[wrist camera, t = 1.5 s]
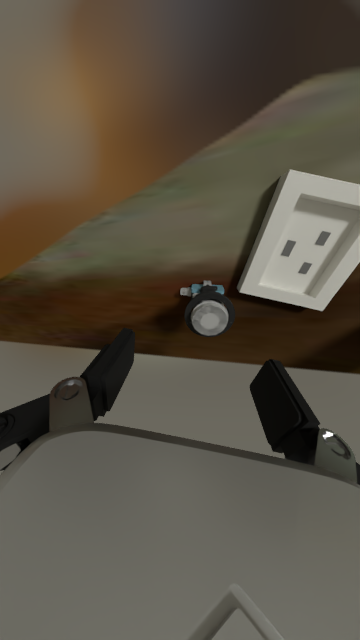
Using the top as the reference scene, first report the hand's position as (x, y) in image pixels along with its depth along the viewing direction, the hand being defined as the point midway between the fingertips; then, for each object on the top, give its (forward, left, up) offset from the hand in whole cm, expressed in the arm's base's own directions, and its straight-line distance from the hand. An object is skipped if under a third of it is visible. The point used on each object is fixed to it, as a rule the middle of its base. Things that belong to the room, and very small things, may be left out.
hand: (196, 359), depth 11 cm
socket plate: (-12, -8, -16) cm, 21 cm away
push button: (-1, 0, -16) cm, 16 cm away
